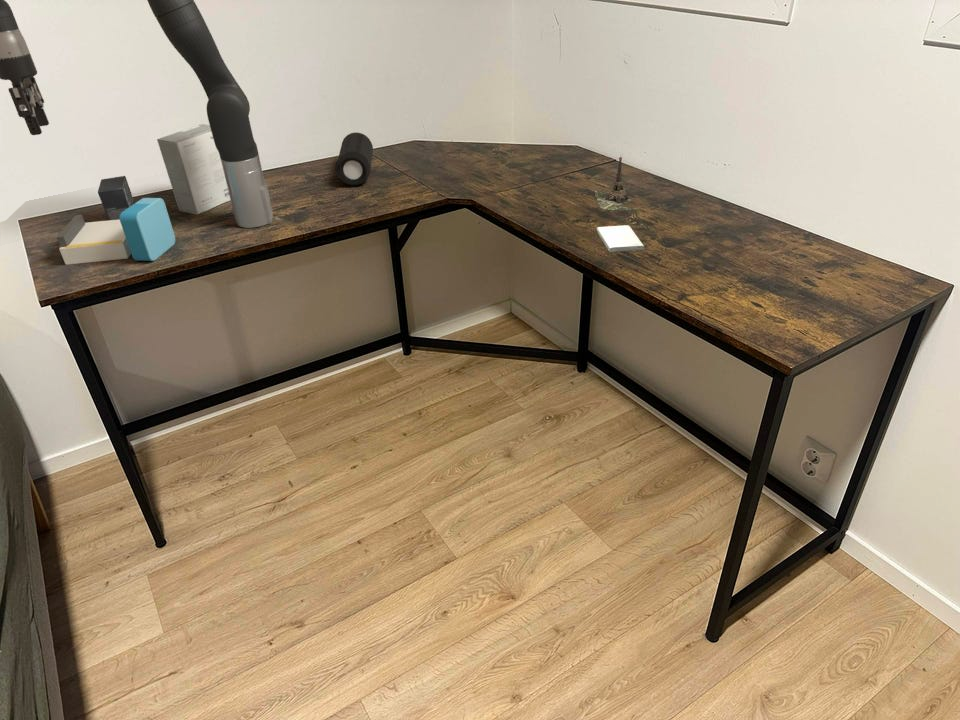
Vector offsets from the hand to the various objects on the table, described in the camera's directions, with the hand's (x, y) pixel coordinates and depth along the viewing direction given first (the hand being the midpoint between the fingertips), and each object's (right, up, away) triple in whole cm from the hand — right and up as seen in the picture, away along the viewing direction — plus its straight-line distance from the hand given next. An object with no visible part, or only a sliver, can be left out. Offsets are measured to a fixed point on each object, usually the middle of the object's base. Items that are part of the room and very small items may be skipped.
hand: (40, 129), depth 154 cm
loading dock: (+9, -25, +11) cm, 29 cm away
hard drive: (+135, -25, +6) cm, 137 cm away
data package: (+23, -27, +8) cm, 36 cm away
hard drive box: (+25, -9, +35) cm, 44 cm away
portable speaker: (+63, +4, +53) cm, 83 cm away
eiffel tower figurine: (+138, -10, +28) cm, 141 cm away
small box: (+6, -16, +26) cm, 31 cm away
